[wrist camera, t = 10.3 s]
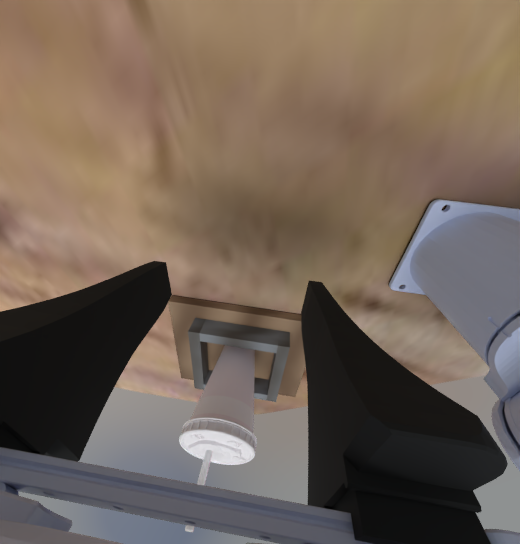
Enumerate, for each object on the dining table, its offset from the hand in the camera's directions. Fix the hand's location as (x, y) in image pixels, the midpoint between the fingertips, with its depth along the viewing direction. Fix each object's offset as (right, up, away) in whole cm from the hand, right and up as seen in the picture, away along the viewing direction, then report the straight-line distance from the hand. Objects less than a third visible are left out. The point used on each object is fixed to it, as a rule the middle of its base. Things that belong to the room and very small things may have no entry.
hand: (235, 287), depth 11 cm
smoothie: (-1, -8, +15) cm, 17 cm away
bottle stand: (-1, -9, +16) cm, 18 cm away
